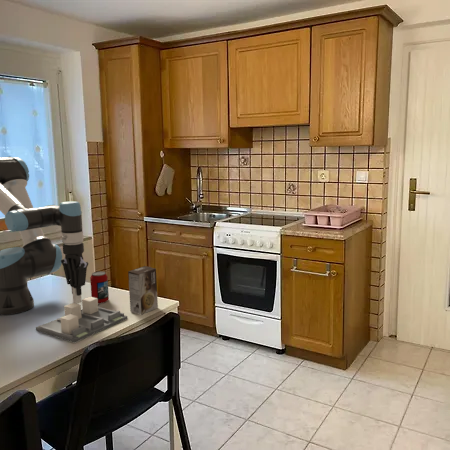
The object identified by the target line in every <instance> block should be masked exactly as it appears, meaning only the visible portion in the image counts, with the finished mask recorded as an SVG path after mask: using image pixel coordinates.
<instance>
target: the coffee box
mask: <svg viewBox="0 0 450 450" xmlns="http://www.w3.org/2000/svg"><path fill="white" fill-rule="evenodd" d="M127 278H128V289H129V290H128V291H129V310H130V312H131V313H134V314H136V315H140V314H141V315H142V316H143V315H145V314H147V313H149V312H151V311H153V310H156V309H158V308H159V305H158V303H159V302H158V286H157V285H158V284H157V283H158V282H157V268H156V267H155V268H154V267H151V266H145V265H144V266H141V267H138V268H135V269H132V270H129V271H128V277H127ZM144 313H145V314H144Z"/></svg>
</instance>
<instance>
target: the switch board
mask: <svg viewBox="0 0 450 450" xmlns="http://www.w3.org/2000/svg"><path fill="white" fill-rule="evenodd" d="M64 316H65V315H64ZM64 316H62V317H64ZM81 316H82V318H80V319H78V322H79V328H76V329H74V330H72V331H71V333H72V334H67V333H63V332H62V331H61V319H60V318H61V317H59V318H56V319H55V320H51V321H48V322H47V323H43V324H40V325H38V326H36V327H35V331H37V332H40V333H43V334H47V335H49V336H53V337H55V338H58V339H61V340H65V341H67V342H71V343H73V344H75V343H77V342H80V341H82V340H84V339H86V338H88V337H90V336H93V335H95V334H97V333H100V332H101V331H104V330H105V329H106V330H107V329H108V328H111V327H112V326H115V325H117V324H119V323H121V322H124V321H126V320H127V319H128V316H127V315H125V312H122V311H120V310H112V309H109V308H108V309H107V308H104V307H101V306H98V311H97V312H95V313H92V314H87V313H83V308H81Z"/></svg>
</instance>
